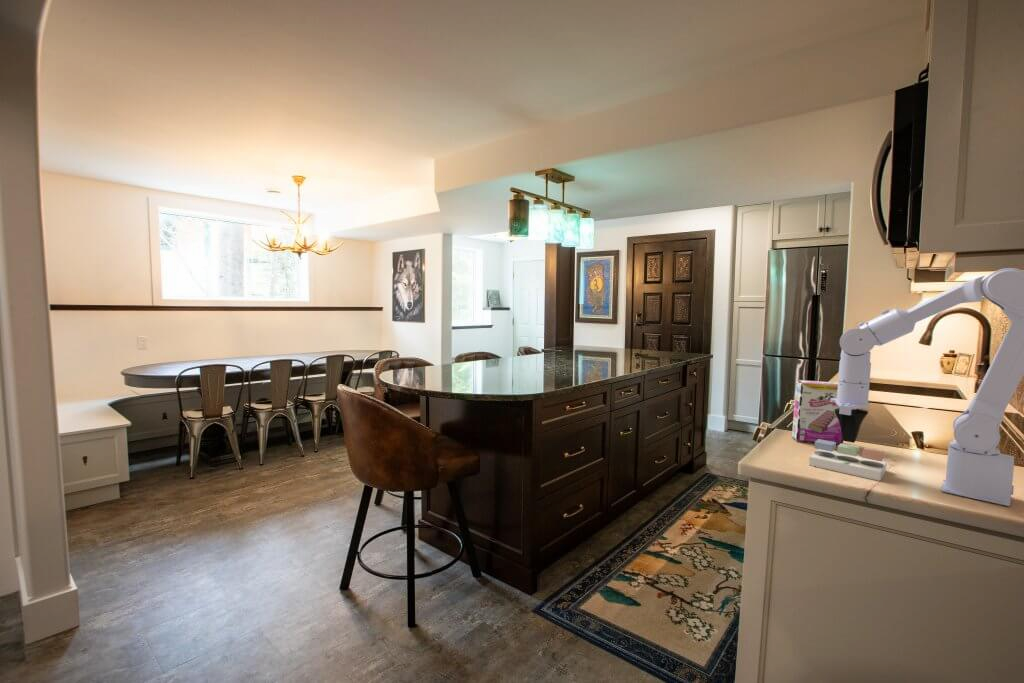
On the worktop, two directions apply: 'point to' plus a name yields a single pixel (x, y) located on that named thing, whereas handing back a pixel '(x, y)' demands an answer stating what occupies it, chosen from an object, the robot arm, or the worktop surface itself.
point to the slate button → (825, 445)
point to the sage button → (848, 449)
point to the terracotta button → (873, 454)
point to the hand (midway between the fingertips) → (849, 441)
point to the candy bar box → (816, 412)
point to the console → (848, 464)
